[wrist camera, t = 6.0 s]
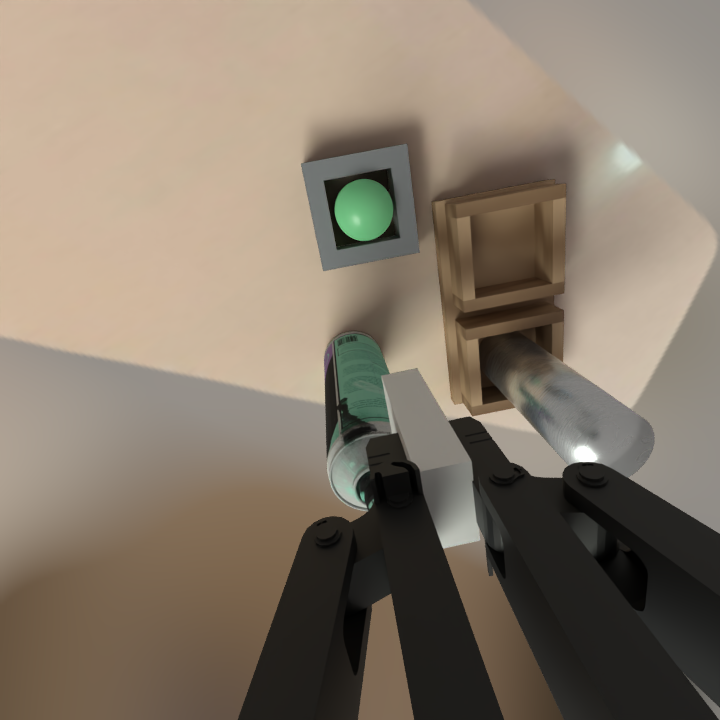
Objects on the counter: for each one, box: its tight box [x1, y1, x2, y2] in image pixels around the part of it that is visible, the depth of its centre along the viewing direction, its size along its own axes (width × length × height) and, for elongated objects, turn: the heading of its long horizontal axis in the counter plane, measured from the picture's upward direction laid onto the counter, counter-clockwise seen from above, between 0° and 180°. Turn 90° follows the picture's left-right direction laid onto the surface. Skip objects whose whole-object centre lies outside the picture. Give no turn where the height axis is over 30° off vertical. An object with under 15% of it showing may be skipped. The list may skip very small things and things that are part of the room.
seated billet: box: [479, 331, 654, 478], centre depth 32 cm, size 5×5×16 cm
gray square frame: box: [301, 144, 420, 271], centre depth 33 cm, size 8×8×2 cm
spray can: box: [324, 331, 392, 511], centre depth 30 cm, size 6×6×20 cm
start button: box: [334, 179, 393, 241], centre depth 32 cm, size 4×4×3 cm
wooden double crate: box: [432, 179, 566, 416], centre depth 36 cm, size 19×10×4 cm, turn 10°
